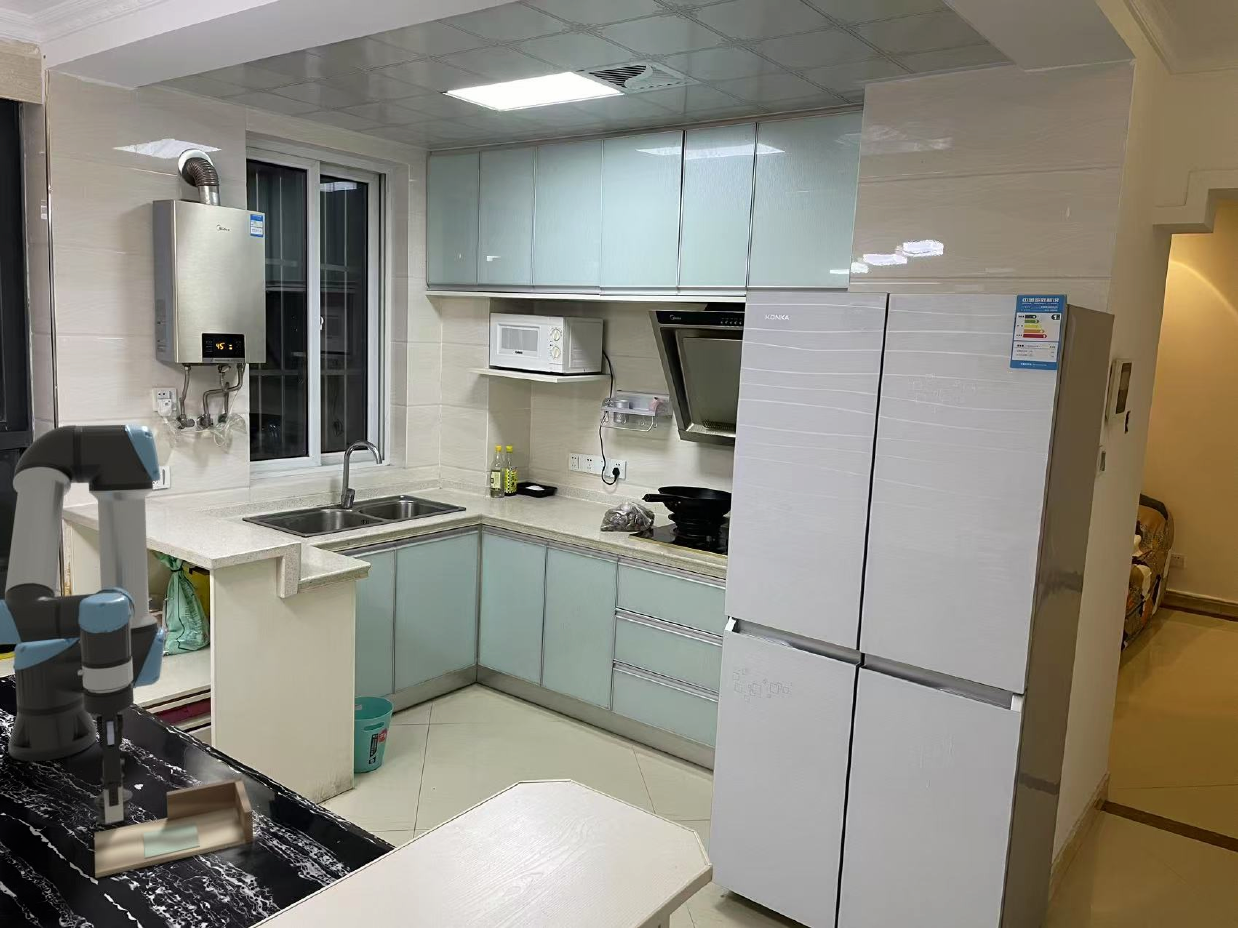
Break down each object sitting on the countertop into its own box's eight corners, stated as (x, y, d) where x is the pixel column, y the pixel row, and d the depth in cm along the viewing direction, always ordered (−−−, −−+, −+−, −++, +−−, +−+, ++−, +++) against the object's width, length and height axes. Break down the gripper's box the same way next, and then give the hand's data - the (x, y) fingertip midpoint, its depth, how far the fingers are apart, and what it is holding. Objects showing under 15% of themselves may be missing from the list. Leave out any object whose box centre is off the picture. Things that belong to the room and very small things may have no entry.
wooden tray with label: (94, 837, 154) (93, 806, 154) (241, 806, 166) (241, 777, 165) (95, 877, 143) (93, 845, 143) (253, 841, 155) (252, 811, 154)
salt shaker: (116, 827, 158) (113, 761, 156) (86, 822, 159) (83, 756, 157) (141, 810, 163) (138, 746, 162) (112, 805, 165) (108, 742, 163)
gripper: (82, 670, 164) (89, 792, 167) (82, 709, 148) (89, 843, 151) (130, 663, 168) (135, 783, 171) (135, 701, 151) (140, 832, 155)
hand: (114, 811), depth 161 cm, fingers closed on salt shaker, 6 cm apart
